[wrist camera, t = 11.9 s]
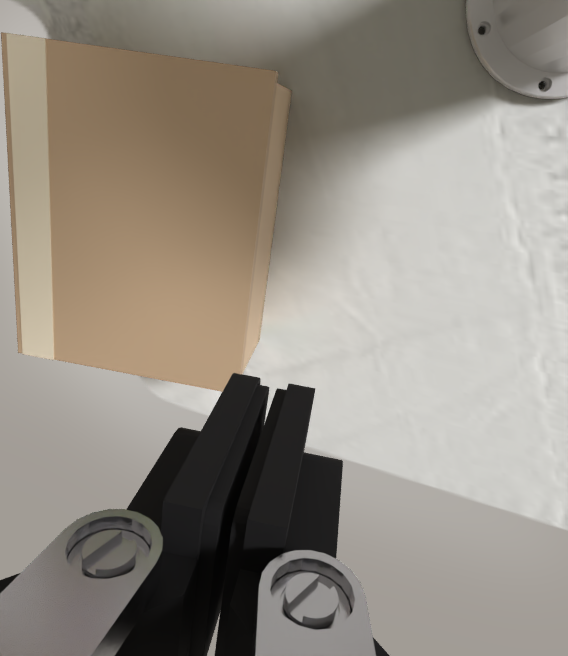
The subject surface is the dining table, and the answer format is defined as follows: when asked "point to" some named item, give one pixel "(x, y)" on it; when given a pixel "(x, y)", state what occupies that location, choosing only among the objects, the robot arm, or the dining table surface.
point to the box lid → (135, 206)
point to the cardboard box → (267, 218)
